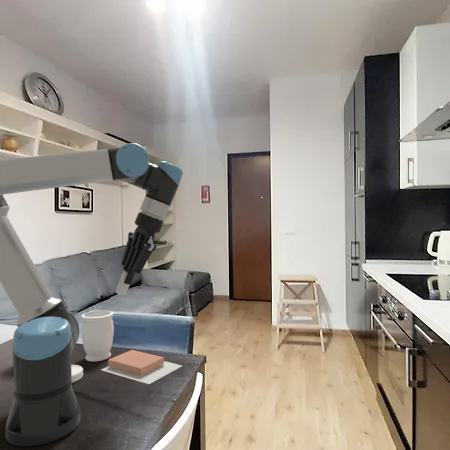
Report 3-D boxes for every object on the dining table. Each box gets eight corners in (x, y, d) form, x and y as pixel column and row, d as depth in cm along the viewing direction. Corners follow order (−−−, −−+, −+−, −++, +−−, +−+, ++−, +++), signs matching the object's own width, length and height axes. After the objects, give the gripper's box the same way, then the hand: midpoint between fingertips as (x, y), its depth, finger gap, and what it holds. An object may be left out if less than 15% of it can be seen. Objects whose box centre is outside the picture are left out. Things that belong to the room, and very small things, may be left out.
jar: (93, 351, 131) (92, 309, 131) (119, 352, 129) (119, 310, 129) (75, 362, 121) (74, 317, 120) (103, 364, 118) (103, 318, 118)
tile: (163, 357, 115) (132, 349, 122) (141, 368, 106) (108, 359, 113) (164, 365, 115) (132, 356, 122) (141, 376, 106) (108, 367, 113)
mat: (182, 368, 114) (182, 365, 114) (149, 387, 101) (149, 384, 101) (136, 357, 124) (136, 354, 124) (100, 373, 112) (100, 369, 112)
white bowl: (75, 372, 113) (74, 361, 113) (89, 382, 106) (88, 370, 106) (40, 382, 106) (40, 370, 106) (53, 394, 99) (52, 381, 99)
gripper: (174, 225, 101) (142, 304, 100) (151, 214, 110) (122, 287, 110) (152, 216, 96) (117, 300, 95) (130, 206, 105) (99, 282, 105)
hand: (120, 293), depth 103 cm, fingers closed
